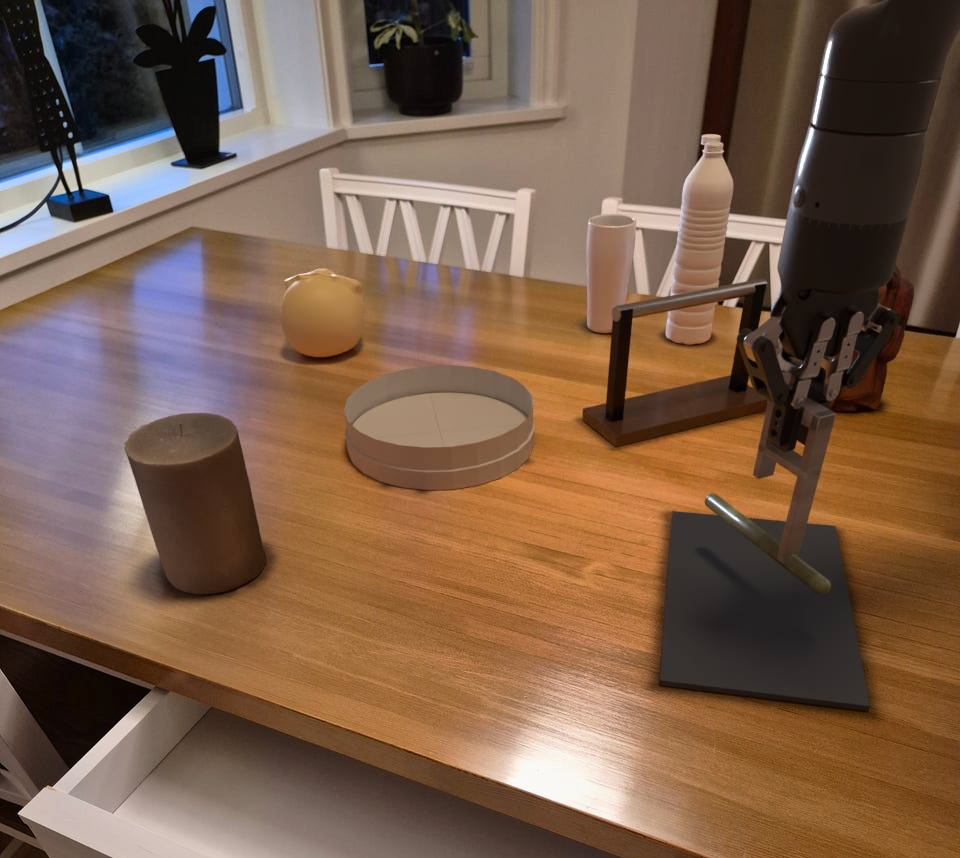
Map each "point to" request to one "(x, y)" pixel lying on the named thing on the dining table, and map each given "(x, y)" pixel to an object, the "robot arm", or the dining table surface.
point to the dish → (439, 427)
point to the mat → (758, 617)
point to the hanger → (802, 497)
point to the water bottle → (700, 241)
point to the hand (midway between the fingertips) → (793, 443)
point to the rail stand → (684, 403)
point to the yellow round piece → (322, 313)
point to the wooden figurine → (872, 382)
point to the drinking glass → (608, 267)
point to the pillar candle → (197, 501)
